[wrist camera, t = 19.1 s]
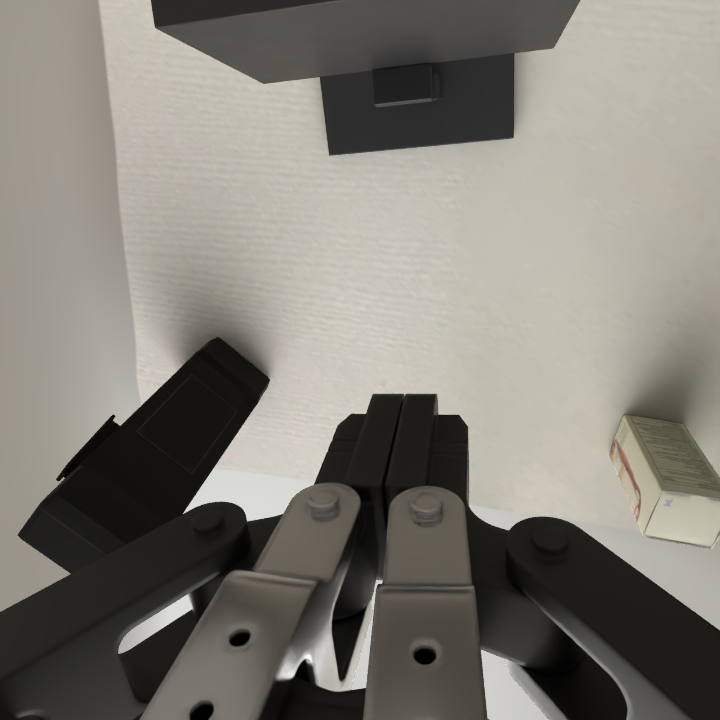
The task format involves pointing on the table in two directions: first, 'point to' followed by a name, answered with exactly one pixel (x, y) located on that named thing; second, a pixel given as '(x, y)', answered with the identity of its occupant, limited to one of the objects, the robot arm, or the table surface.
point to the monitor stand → (423, 108)
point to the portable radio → (147, 460)
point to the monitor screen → (361, 36)
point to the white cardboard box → (667, 481)
